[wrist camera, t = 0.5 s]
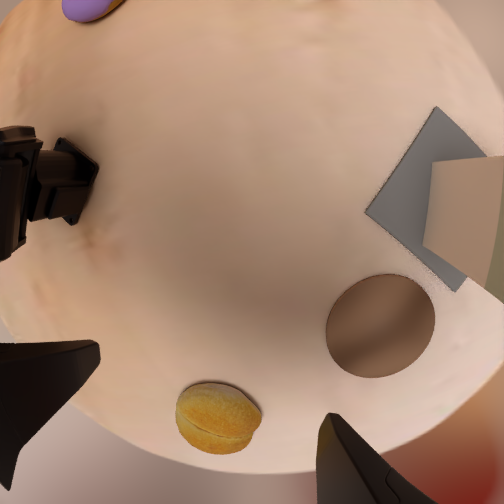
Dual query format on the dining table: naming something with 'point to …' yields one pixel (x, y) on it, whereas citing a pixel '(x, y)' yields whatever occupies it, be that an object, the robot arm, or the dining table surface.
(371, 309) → the disc
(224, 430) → the bread roll
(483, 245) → the carton
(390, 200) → the mat
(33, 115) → the dining table surface
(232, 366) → the dining table surface
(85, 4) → the donut
